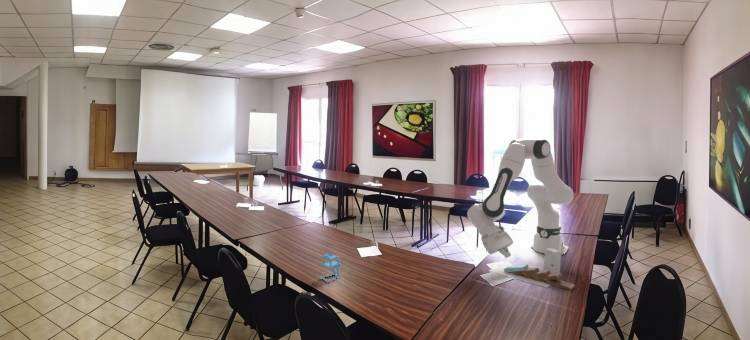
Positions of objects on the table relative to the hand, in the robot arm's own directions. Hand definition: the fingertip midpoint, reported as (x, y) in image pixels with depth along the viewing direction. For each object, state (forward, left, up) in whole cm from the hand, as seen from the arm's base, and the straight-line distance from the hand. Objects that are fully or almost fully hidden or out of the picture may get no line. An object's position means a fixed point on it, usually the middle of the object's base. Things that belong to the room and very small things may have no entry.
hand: (508, 256), depth 179 cm
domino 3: (0, +9, -6) cm, 11 cm away
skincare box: (-12, +16, -8) cm, 21 cm away
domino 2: (0, +4, -6) cm, 8 cm away
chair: (+66, -55, -8) cm, 86 cm away
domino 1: (0, -1, -6) cm, 7 cm away
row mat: (0, +7, -8) cm, 10 cm away
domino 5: (0, +19, -6) cm, 20 cm away
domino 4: (0, +14, -6) cm, 15 cm away
